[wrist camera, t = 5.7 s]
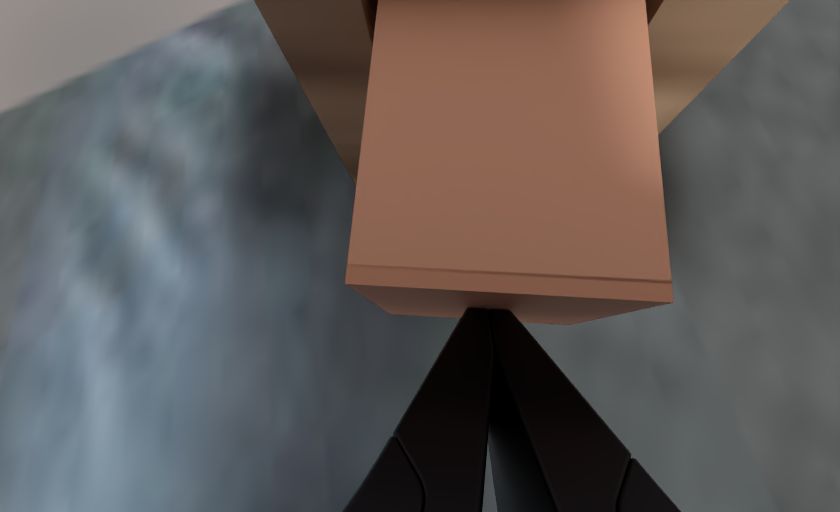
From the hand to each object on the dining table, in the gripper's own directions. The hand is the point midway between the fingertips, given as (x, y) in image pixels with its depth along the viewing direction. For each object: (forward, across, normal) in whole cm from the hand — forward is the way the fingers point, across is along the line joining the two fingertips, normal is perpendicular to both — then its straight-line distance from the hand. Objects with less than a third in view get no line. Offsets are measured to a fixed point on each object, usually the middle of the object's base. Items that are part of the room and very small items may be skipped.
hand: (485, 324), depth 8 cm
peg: (+5, 0, -2) cm, 6 cm away
